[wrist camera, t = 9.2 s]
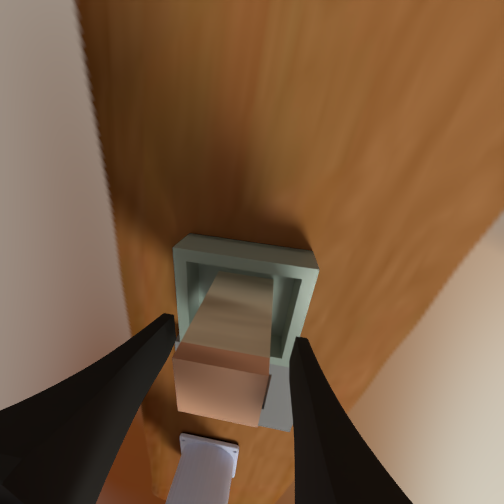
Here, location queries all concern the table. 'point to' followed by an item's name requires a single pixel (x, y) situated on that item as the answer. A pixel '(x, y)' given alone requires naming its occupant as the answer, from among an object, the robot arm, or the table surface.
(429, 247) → the table surface
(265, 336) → the block
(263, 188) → the table surface
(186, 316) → the tray
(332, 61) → the table surface
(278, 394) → the holder board
